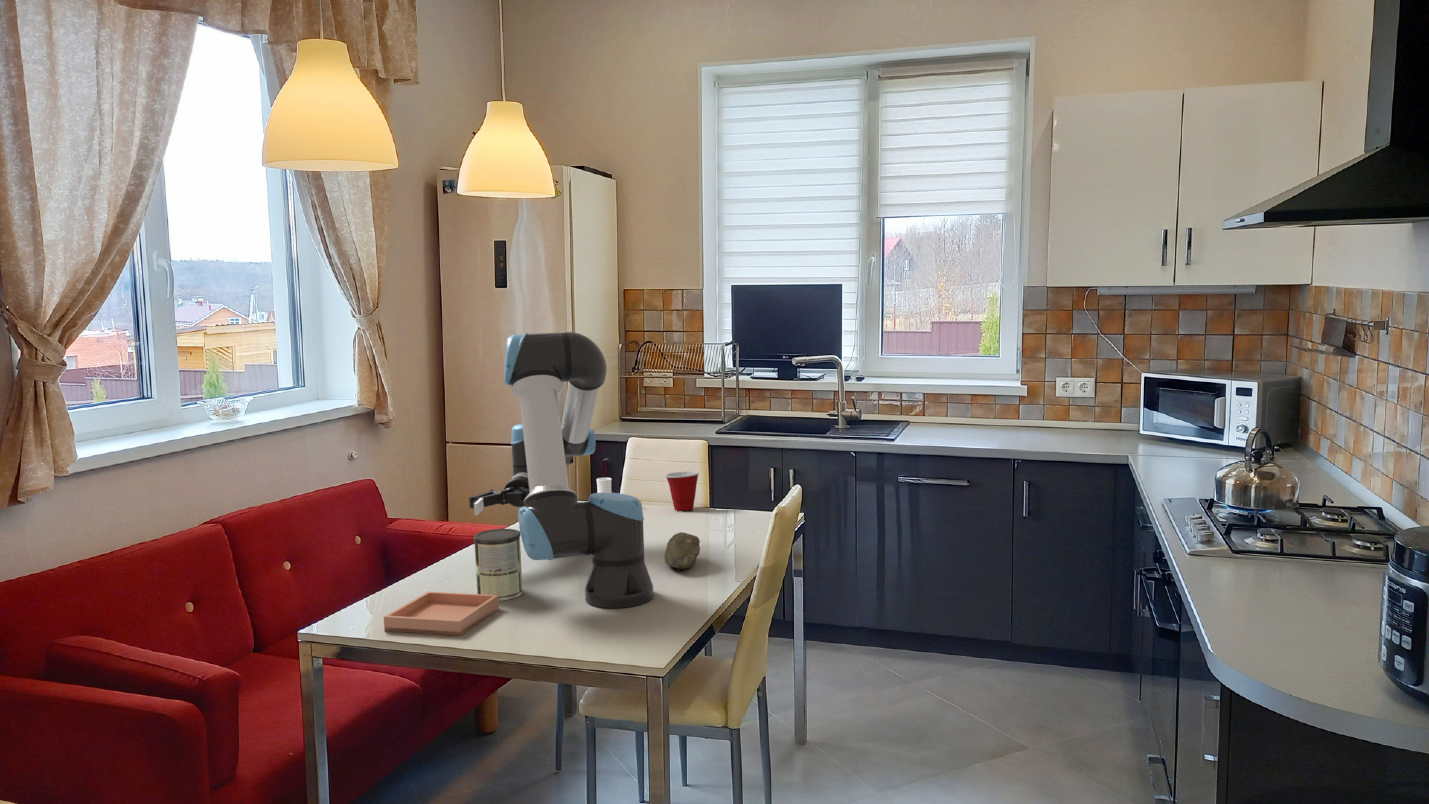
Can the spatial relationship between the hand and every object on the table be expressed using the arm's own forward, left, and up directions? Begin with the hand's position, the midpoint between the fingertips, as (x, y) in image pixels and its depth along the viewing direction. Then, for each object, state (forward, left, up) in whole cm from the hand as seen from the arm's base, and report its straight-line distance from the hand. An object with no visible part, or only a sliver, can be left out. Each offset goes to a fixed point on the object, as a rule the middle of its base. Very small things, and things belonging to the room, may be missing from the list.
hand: (504, 508), depth 224 cm
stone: (-38, -19, -18) cm, 46 cm away
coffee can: (-3, +10, -18) cm, 20 cm away
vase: (+4, -77, -18) cm, 80 cm away
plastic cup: (-21, -80, -18) cm, 85 cm away
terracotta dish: (+1, +28, -18) cm, 33 cm away
